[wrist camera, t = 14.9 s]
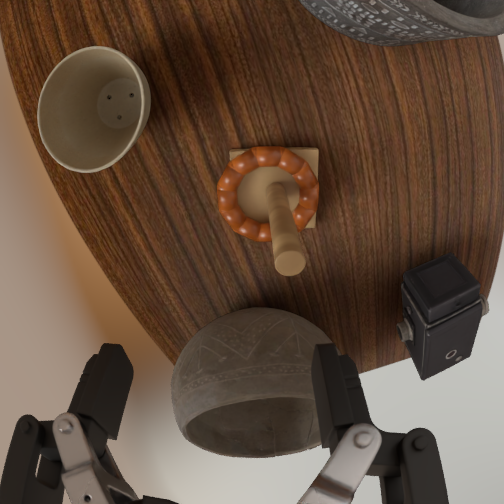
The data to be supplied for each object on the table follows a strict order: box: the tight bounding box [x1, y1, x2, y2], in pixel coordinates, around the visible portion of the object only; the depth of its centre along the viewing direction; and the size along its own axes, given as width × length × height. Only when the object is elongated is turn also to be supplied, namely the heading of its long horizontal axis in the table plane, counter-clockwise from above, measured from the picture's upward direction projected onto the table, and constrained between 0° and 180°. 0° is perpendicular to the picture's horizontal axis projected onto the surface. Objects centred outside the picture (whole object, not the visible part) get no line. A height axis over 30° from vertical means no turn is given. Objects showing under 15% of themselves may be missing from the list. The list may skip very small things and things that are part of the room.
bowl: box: [171, 307, 342, 458], centre depth 32 cm, size 21×21×15 cm
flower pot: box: [38, 46, 151, 173], centre depth 20 cm, size 10×10×7 cm
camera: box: [397, 252, 489, 380], centre depth 30 cm, size 11×11×15 cm
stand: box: [229, 147, 319, 276], centre depth 22 cm, size 8×8×13 cm
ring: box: [217, 146, 319, 242], centre depth 26 cm, size 9×9×2 cm
